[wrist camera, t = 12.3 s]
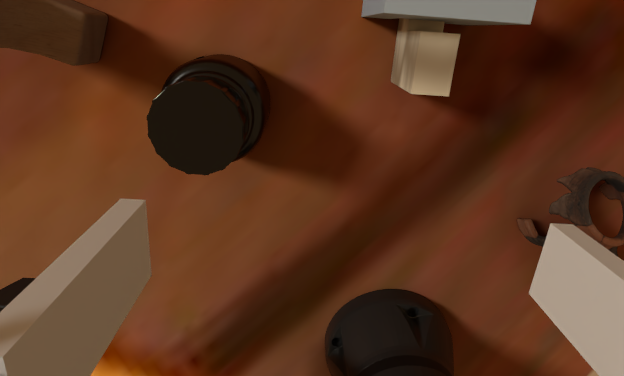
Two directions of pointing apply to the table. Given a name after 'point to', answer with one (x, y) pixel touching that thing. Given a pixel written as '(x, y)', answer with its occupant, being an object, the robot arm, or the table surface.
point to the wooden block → (53, 29)
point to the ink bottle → (209, 114)
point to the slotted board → (424, 57)
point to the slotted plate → (454, 11)
